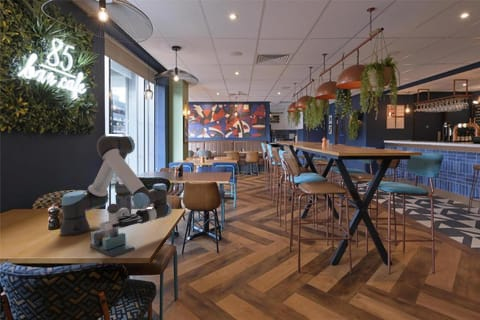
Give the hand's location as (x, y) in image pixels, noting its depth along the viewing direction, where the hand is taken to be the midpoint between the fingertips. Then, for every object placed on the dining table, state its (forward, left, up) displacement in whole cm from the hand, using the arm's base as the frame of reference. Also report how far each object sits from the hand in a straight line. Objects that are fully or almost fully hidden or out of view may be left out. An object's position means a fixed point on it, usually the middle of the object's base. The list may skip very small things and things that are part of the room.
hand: (102, 226), depth 127 cm
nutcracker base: (0, +6, -13) cm, 14 cm away
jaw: (+3, +5, -11) cm, 12 cm away
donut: (-16, +46, -13) cm, 50 cm away
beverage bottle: (-26, +66, -13) cm, 72 cm away
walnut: (-4, +9, -11) cm, 15 cm away
